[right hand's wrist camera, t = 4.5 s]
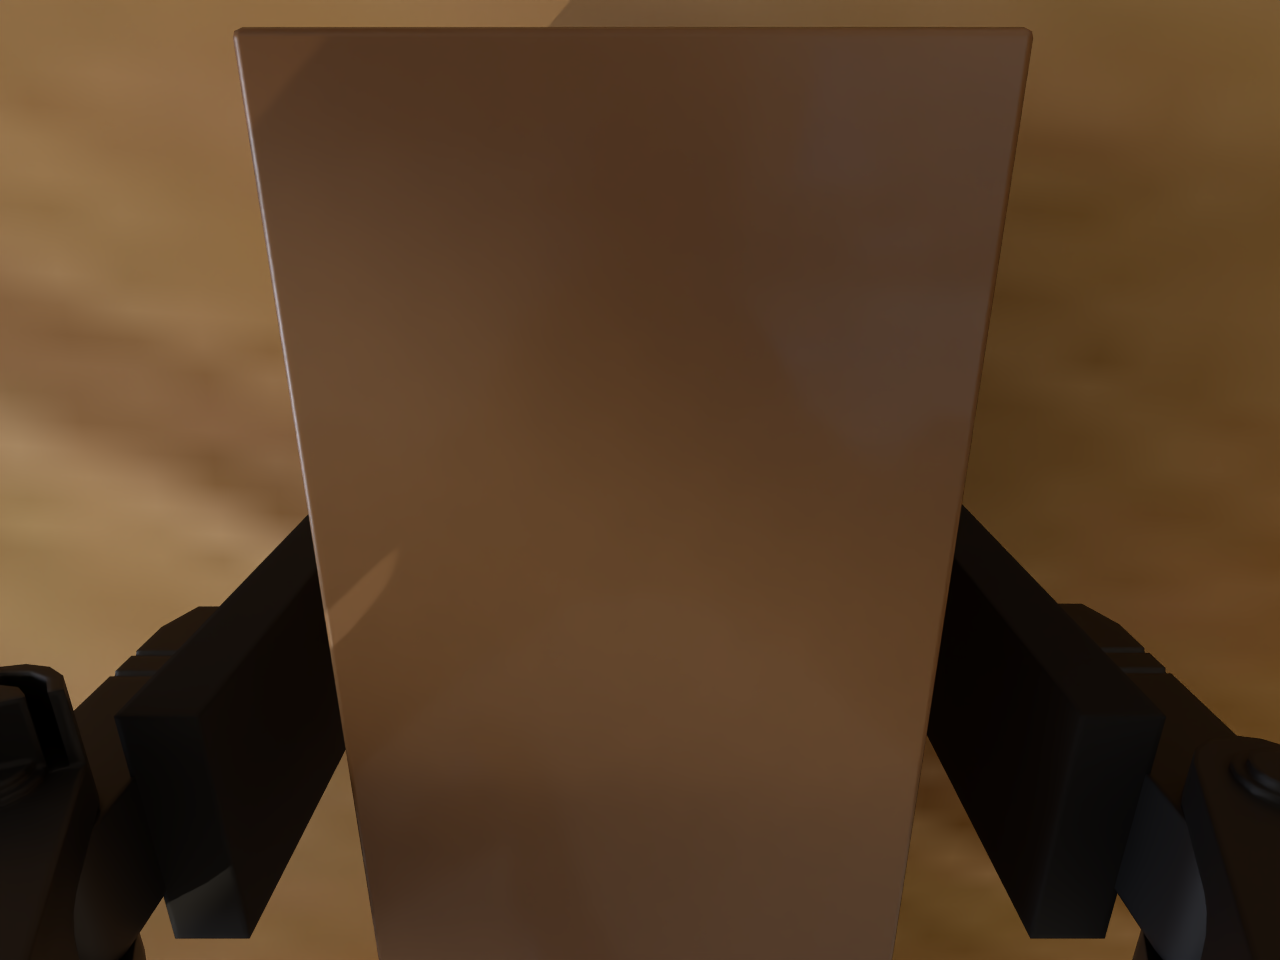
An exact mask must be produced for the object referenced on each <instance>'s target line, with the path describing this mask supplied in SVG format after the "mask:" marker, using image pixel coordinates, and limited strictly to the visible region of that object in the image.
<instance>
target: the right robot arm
mask: <svg viewBox="0 0 1280 960" xmlns="http://www.w3.org/2000/svg"><path fill="white" fill-rule="evenodd" d="M136 652H137V654H136V656H131V657H130V658H129V659H128V660H127V661H126V662H125V663H123V664H122V665H121V666H120V667H119V668H118V669H117V670H116V671H115V676H110V677H109V678H108V679H107V680H106V681H105V682H104V683H103V684H101V685H100V686H99V687H98V688H97V689H96V690H95V691H94V692H93V693H92V694H91V695H90V696H89V697H88V698H87V699H86V700H85V701H84V702H83V703H82V704H81V705H80V706H78V707H77V708H76V709H75V710H74V711H73V707H72V704H71V701H70V697H69V694H68V691H67V687H66V684H65V681H64V677H63V675H61V674H60V673H58V672H57V671H55V670H54V669H52V668H51V667H46V666H38V665H29V664H23V665H13V666H4V667H0V960H146V956H145V949H144V946H143V942H142V939H141V936H140V931H141V930H142V928H143V927H144V925H145V924H146V922H147V921H148V919H149V918H150V916H151V914H152V913H153V911H154V910H155V908H156V907H157V905H158V904H159V902H160V901H161V899H162V898H163V896H164V900H165V903H166V907H167V910H168V914H169V918H170V921H171V925H172V928H173V932H174V936H175V938H250V937H251V935H252V933H253V931H254V929H255V927H256V925H257V923H258V921H259V919H260V917H261V915H262V913H263V911H264V909H265V907H266V905H267V903H268V901H269V899H270V897H271V895H272V893H273V891H274V889H275V887H276V885H277V884H278V882H279V880H280V878H281V876H282V874H283V872H284V870H285V868H286V866H287V864H288V862H289V860H290V858H291V856H292V854H293V852H294V850H295V848H296V846H297V844H298V842H299V840H300V838H301V836H302V834H303V832H304V830H305V828H306V826H307V824H308V823H309V821H310V819H311V817H312V815H313V813H314V811H315V809H316V807H317V805H318V803H319V801H320V799H321V797H322V795H323V793H324V791H325V789H326V787H327V785H328V783H329V781H330V779H331V777H332V775H333V773H334V771H335V769H336V767H337V765H338V764H339V762H340V760H341V758H342V756H343V754H344V752H345V750H346V748H345V742H344V735H343V729H342V723H341V716H340V710H339V704H338V697H337V691H336V685H335V678H334V672H333V666H332V659H331V653H330V647H329V640H328V634H327V628H326V621H325V615H324V609H323V602H322V596H321V590H320V584H319V577H318V571H317V565H316V558H315V552H314V546H313V539H312V533H311V527H310V520H309V514H308V515H307V516H306V517H305V518H304V519H303V520H302V521H301V523H300V524H299V525H298V526H297V527H296V528H295V529H294V530H293V531H292V532H291V533H290V534H289V535H288V536H287V537H286V538H285V539H284V540H283V541H282V542H281V543H280V544H279V545H278V546H277V547H276V548H275V549H274V551H273V552H272V553H271V554H270V555H269V556H268V557H267V558H266V559H265V560H264V561H263V562H262V563H261V564H260V565H259V566H258V567H257V568H256V569H255V570H254V571H253V572H252V573H251V574H250V575H249V576H248V578H247V579H246V580H245V581H244V582H243V583H242V584H241V585H240V586H239V587H238V588H237V589H236V590H235V591H234V592H233V593H232V594H231V595H230V596H229V597H228V598H227V599H226V600H225V601H224V602H223V603H222V604H221V606H220V607H197V608H195V609H193V610H192V611H190V612H188V613H186V614H184V615H183V616H181V617H179V618H177V619H175V620H174V621H172V622H170V623H168V624H166V625H164V626H163V627H161V628H160V629H159V630H158V631H157V632H156V633H155V634H154V635H153V636H152V637H151V638H150V639H149V640H148V641H147V642H145V643H144V644H143V645H142V646H141V647H140V648H139V649H138V650H137V651H136ZM927 736H928V738H929V740H930V742H931V744H932V746H933V748H934V750H935V752H936V754H937V756H938V758H939V760H940V762H941V763H942V765H943V767H944V769H945V771H946V773H947V775H948V777H949V779H950V781H951V783H952V785H953V787H954V789H955V791H956V793H957V795H958V797H959V799H960V801H961V803H962V805H963V807H964V809H965V811H966V813H967V815H968V817H969V819H970V821H971V823H972V824H973V826H974V828H975V830H976V832H977V834H978V836H979V838H980V840H981V842H982V844H983V846H984V848H985V850H986V852H987V854H988V856H989V858H990V860H991V862H992V864H993V866H994V868H995V870H996V872H997V874H998V876H999V878H1000V880H1001V882H1002V883H1003V885H1004V887H1005V889H1006V891H1007V893H1008V895H1009V897H1010V899H1011V901H1012V903H1013V905H1014V907H1015V909H1016V911H1017V913H1018V915H1019V917H1020V919H1021V921H1022V923H1023V925H1024V927H1025V929H1026V931H1027V933H1028V935H1029V937H1030V938H1105V936H1106V932H1107V928H1108V925H1109V921H1110V918H1111V914H1112V910H1113V907H1114V903H1115V900H1116V896H1117V893H1118V895H1119V896H1120V898H1121V899H1122V901H1123V902H1124V904H1125V905H1126V907H1127V908H1128V910H1129V911H1130V913H1131V915H1132V916H1133V918H1134V919H1135V921H1136V922H1137V924H1138V925H1139V927H1140V928H1141V932H1140V936H1139V939H1138V942H1137V946H1136V949H1135V952H1134V956H1133V959H1132V960H1280V744H1277V743H1273V742H1270V741H1267V740H1263V739H1259V738H1250V737H1242V736H1237V735H1235V734H1234V733H1233V732H1232V731H1231V730H1230V729H1229V728H1228V727H1227V726H1226V725H1225V724H1224V723H1223V722H1222V721H1221V720H1220V719H1219V718H1218V717H1216V716H1215V715H1214V714H1213V713H1212V712H1211V711H1210V710H1209V709H1208V708H1207V707H1206V706H1205V705H1204V704H1203V703H1202V702H1201V701H1200V700H1199V699H1197V698H1196V697H1195V696H1194V695H1193V694H1192V693H1191V692H1190V691H1189V690H1188V689H1187V688H1186V687H1185V686H1184V685H1183V684H1182V683H1181V682H1180V681H1178V680H1177V679H1176V678H1175V677H1174V676H1173V675H1172V674H1171V673H1166V671H1165V667H1164V666H1163V665H1162V664H1161V663H1159V662H1158V661H1157V660H1156V659H1155V658H1154V657H1153V656H1152V655H1151V654H1150V653H1145V652H1144V647H1143V646H1142V645H1140V644H1139V643H1138V642H1137V641H1136V640H1135V639H1134V638H1133V637H1132V636H1131V635H1130V634H1129V633H1128V632H1127V631H1126V630H1125V629H1124V628H1123V627H1121V626H1120V625H1119V624H1118V623H1116V622H1114V621H1112V620H1110V619H1109V618H1107V617H1105V616H1103V615H1101V614H1100V613H1098V612H1096V611H1094V610H1092V609H1090V608H1089V607H1087V606H1085V605H1083V604H1058V603H1057V602H1056V601H1055V600H1054V599H1053V598H1052V597H1051V596H1050V595H1049V594H1048V593H1047V592H1046V591H1045V590H1044V589H1043V588H1042V587H1041V586H1040V585H1039V584H1038V583H1037V582H1036V581H1035V580H1034V579H1033V577H1032V576H1031V575H1030V574H1029V573H1028V572H1027V571H1026V570H1025V569H1024V568H1023V567H1022V566H1021V565H1020V564H1019V563H1018V562H1017V561H1016V560H1015V559H1014V558H1013V557H1012V556H1011V555H1010V554H1009V553H1008V552H1007V551H1006V549H1005V548H1004V547H1003V546H1002V545H1001V544H1000V543H999V542H998V541H997V540H996V539H995V538H994V537H993V536H992V535H991V534H990V533H989V532H988V531H987V530H986V529H985V528H984V527H983V526H982V525H981V524H980V523H979V521H978V520H977V519H976V518H975V517H974V516H973V515H972V514H971V513H970V512H969V511H968V510H967V509H966V508H965V507H964V506H963V505H962V506H961V512H960V519H959V525H958V532H957V538H956V545H955V551H954V558H953V564H952V571H951V578H950V584H949V591H948V597H947V604H946V610H945V617H944V623H943V630H942V636H941V643H940V649H939V656H938V663H937V669H936V676H935V682H934V689H933V695H932V702H931V708H930V715H929V721H928V728H927Z"/></svg>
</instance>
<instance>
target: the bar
mask: <svg viewBox="0 0 1280 960" xmlns="http://www.w3.org/2000/svg"><path fill="white" fill-rule="evenodd" d="M233 40H234V46H235V53H236V59H237V65H238V72H239V78H240V84H241V90H242V97H243V103H244V109H245V116H246V122H247V128H248V135H249V141H250V147H251V154H252V160H253V166H254V173H255V179H256V185H257V192H258V198H259V204H260V211H261V217H262V223H263V230H264V236H265V242H266V249H267V255H268V261H269V267H270V274H271V280H272V286H273V293H274V299H275V305H276V312H277V318H278V324H279V331H280V337H281V343H282V350H283V356H284V362H285V369H286V375H287V381H288V388H289V394H290V400H291V407H292V413H293V419H294V425H295V432H296V438H297V444H298V451H299V457H300V463H301V470H302V476H303V482H304V489H305V495H306V501H307V508H308V514H309V520H310V527H311V533H312V539H313V546H314V552H315V558H316V565H317V571H318V577H319V584H320V590H321V596H322V602H323V609H324V615H325V621H326V628H327V634H328V640H329V647H330V653H331V659H332V666H333V672H334V678H335V685H336V691H337V697H338V704H339V710H340V716H341V723H342V729H343V735H344V742H345V748H346V754H347V760H348V767H349V773H350V779H351V786H352V792H353V798H354V805H355V811H356V817H357V824H358V830H359V836H360V843H361V849H362V855H363V862H364V868H365V874H366V881H367V887H368V893H369V900H370V906H371V912H372V919H373V925H374V931H375V937H376V944H377V950H378V956H379V960H892V957H893V950H894V944H895V937H896V931H897V924H898V918H899V911H900V905H901V898H902V891H903V885H904V878H905V872H906V865H907V859H908V852H909V846H910V839H911V833H912V826H913V819H914V813H915V806H916V800H917V793H918V787H919V780H920V774H921V767H922V761H923V754H924V748H925V741H926V734H927V728H928V721H929V715H930V708H931V702H932V695H933V689H934V682H935V676H936V669H937V663H938V656H939V649H940V643H941V636H942V630H943V623H944V617H945V610H946V604H947V597H948V591H949V584H950V578H951V571H952V564H953V558H954V551H955V545H956V538H957V532H958V525H959V519H960V512H961V506H962V499H963V493H964V486H965V479H966V473H967V466H968V460H969V453H970V447H971V440H972V434H973V427H974V421H975V414H976V407H977V401H978V394H979V388H980V381H981V375H982V368H983V362H984V355H985V349H986V342H987V336H988V329H989V322H990V316H991V309H992V303H993V296H994V290H995V283H996V277H997V270H998V264H999V257H1000V251H1001V244H1002V237H1003V231H1004V224H1005V218H1006V211H1007V205H1008V198H1009V192H1010V185H1011V179H1012V172H1013V166H1014V159H1015V152H1016V146H1017V139H1018V133H1019V126H1020V120H1021V113H1022V107H1023V100H1024V94H1025V87H1026V80H1027V74H1028V67H1029V61H1030V54H1031V48H1032V41H1033V35H1032V31H1030V30H1028V29H1026V28H1024V27H242V28H240V29H238V30H236V31H234V36H233Z"/></svg>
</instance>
